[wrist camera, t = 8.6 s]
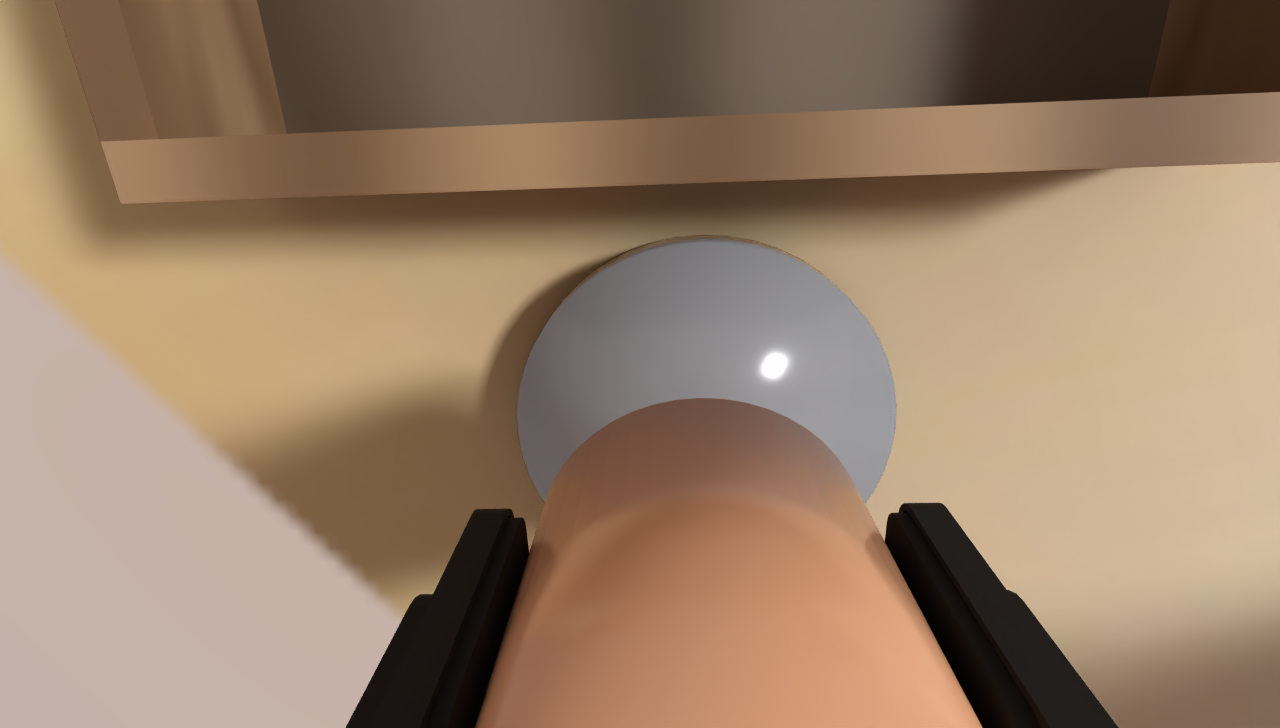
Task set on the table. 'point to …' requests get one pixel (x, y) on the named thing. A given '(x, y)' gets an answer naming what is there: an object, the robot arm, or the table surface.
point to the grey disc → (708, 352)
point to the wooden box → (660, 91)
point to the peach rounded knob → (714, 589)
